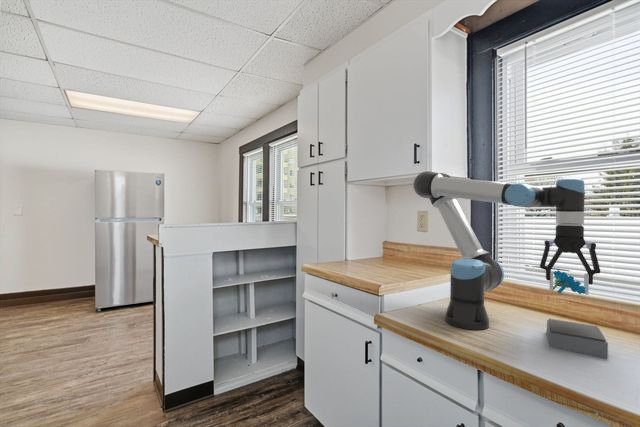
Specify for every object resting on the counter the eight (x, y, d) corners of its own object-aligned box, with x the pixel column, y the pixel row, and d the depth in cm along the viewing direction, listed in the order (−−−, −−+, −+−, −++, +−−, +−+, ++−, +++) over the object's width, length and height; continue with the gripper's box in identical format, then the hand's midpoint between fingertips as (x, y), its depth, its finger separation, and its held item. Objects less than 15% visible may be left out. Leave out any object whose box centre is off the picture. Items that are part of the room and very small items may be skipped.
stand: (548, 346, 102) (548, 330, 102) (546, 332, 114) (546, 317, 114) (607, 358, 94) (607, 341, 94) (598, 341, 107) (599, 326, 107)
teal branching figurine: (594, 292, 103) (568, 269, 105) (581, 305, 103) (555, 282, 105) (571, 289, 114) (548, 268, 116) (559, 301, 114) (536, 279, 116)
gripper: (608, 225, 107) (607, 294, 107) (530, 223, 118) (529, 285, 118) (614, 226, 101) (613, 299, 101) (532, 224, 111) (530, 289, 112)
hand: (568, 291), depth 109 cm, fingers closed on teal branching figurine, 9 cm apart
